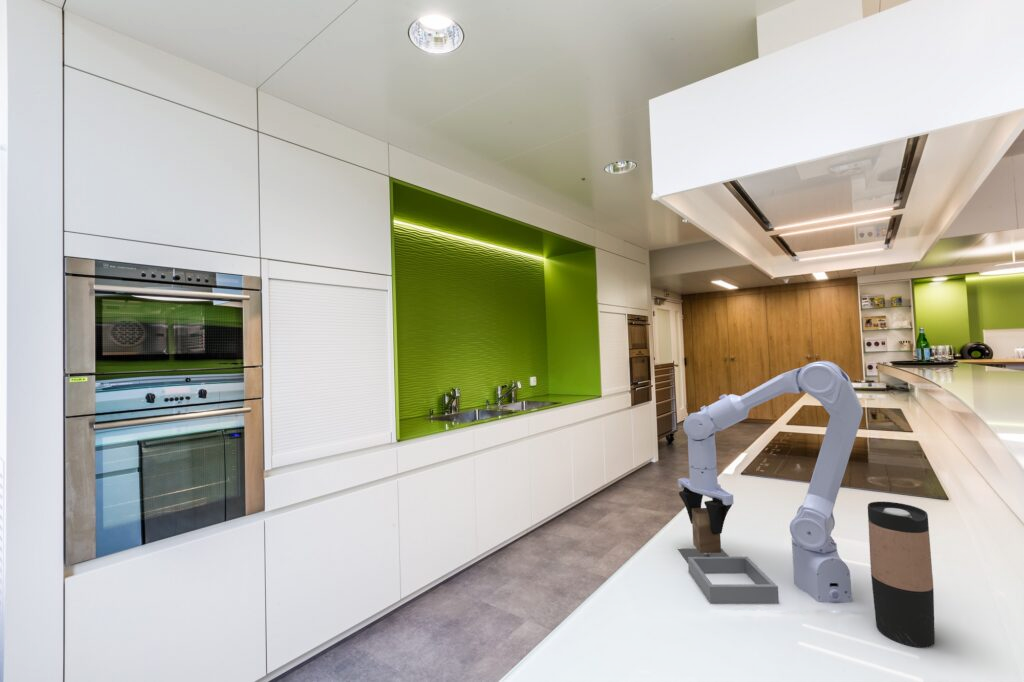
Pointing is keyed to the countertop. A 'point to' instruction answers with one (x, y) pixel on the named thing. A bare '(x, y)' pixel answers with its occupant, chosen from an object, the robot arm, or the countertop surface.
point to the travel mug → (902, 573)
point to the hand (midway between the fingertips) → (705, 528)
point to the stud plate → (696, 553)
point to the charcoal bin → (733, 593)
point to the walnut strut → (704, 532)
